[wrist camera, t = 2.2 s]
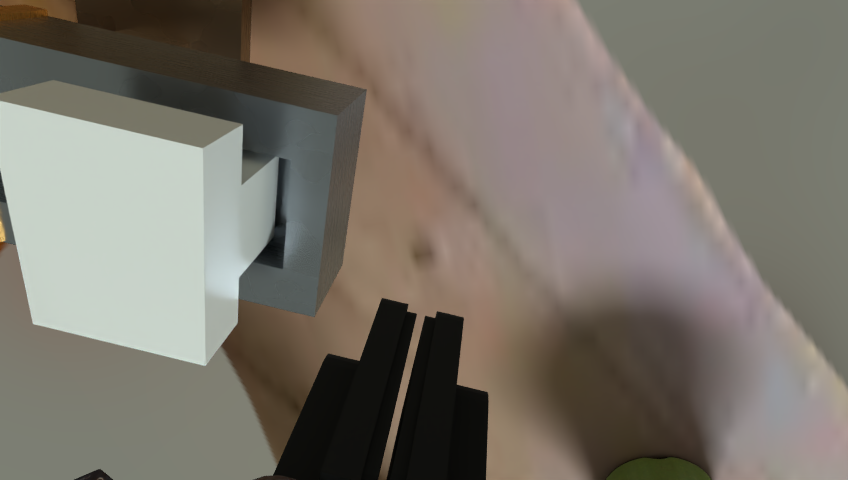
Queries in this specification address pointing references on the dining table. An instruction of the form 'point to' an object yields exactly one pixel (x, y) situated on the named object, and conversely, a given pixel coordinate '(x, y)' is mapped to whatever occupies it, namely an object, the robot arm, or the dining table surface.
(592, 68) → the dining table surface
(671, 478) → the plant pot
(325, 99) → the balance beam
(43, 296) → the rider
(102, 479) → the small box
